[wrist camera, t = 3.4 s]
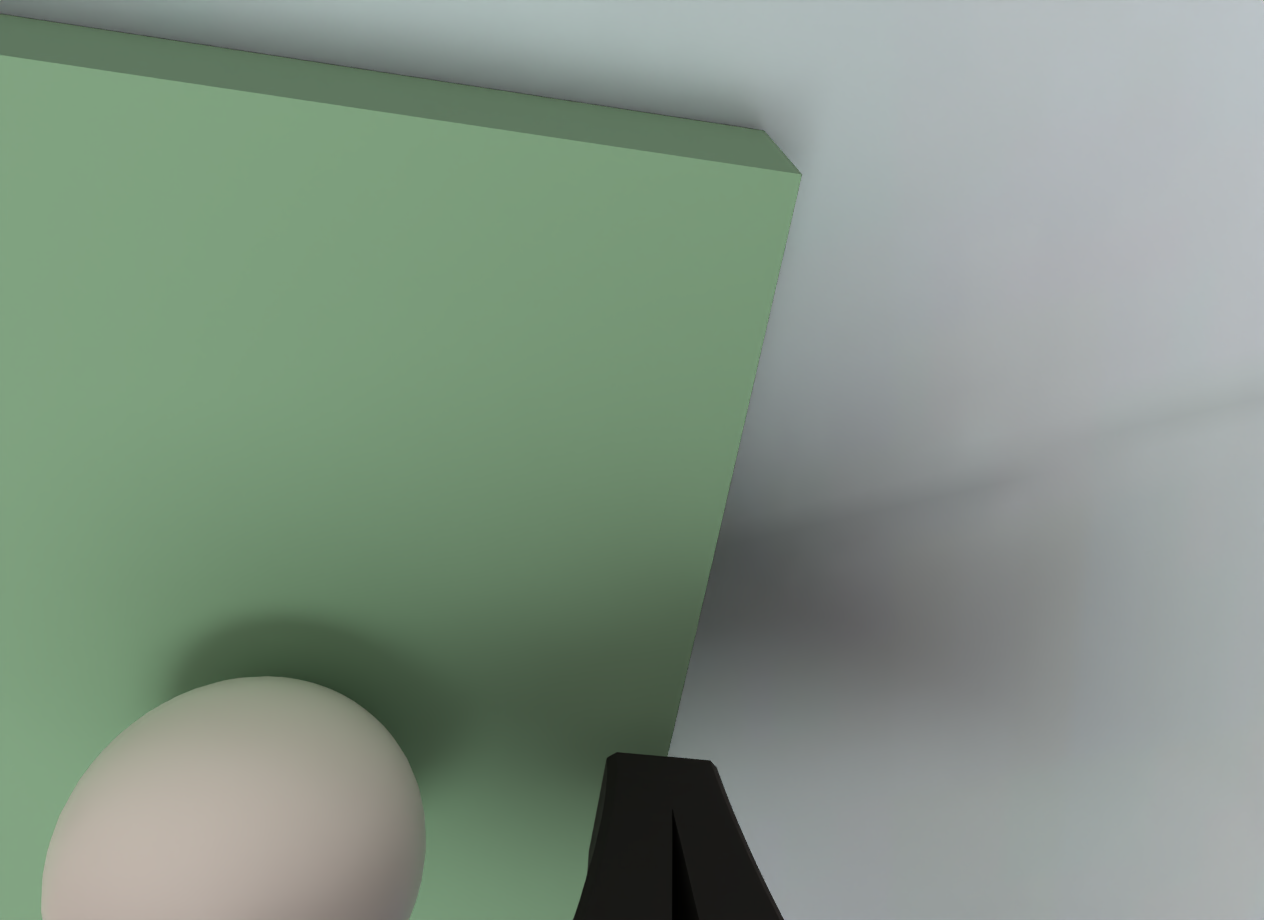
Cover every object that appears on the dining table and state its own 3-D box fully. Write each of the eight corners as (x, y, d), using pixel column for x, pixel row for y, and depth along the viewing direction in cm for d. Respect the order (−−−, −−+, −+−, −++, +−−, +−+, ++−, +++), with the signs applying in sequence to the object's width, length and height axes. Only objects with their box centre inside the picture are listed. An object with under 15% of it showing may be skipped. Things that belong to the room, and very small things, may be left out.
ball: (457, 625, 11) (390, 920, 8) (443, 836, 13) (383, 1150, 10) (127, 592, 11) (-96, 886, 8) (161, 814, 13) (-5, 1131, 9)
